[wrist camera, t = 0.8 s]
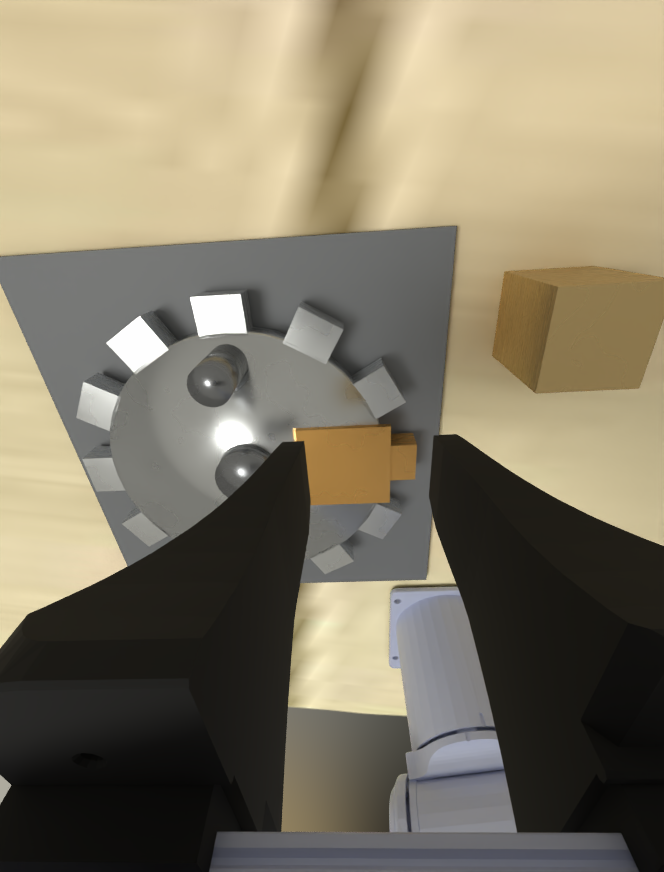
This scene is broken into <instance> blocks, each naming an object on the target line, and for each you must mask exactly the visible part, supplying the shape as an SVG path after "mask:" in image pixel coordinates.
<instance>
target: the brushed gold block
mask: <svg viewBox="0 0 664 872" xmlns="http://www.w3.org/2000/svg"><path fill="white" fill-rule="evenodd" d="M663 319H664V278H663V277H657V276H651V275H645V274H639V273H633V272H627V271H621V270H615V269H609V268H603V267H597V266H586V267H569V268H553V269H537V270H521V271H505V272H504V279H503V286H502V293H501V300H500V306H499V313H498V320H497V327H496V333H495V340H494V347H493V354H492V356H493V357H494V358H495V359H497V360H498V361H499V362H500V363H501V364H502V365H503V366H505V367H506V368H507V369H508V370H509V371H510V372H512V373H513V374H514V375H515V376H516V377H517V378H519V379H520V380H521V381H522V382H523V383H524V384H525V385H527V386H528V387H529V388H530V389H531V390H532V391H534V392H535V393H552V392H573V391H594V390H615V389H636V388H639V387H640V384H641V382H642V379H643V376H644V373H645V370H646V367H647V365H648V362H649V359H650V356H651V353H652V350H653V348H654V345H655V342H656V339H657V336H658V333H659V330H660V328H661V325H662V322H663Z"/></svg>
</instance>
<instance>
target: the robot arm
mask: <svg viewBox="0 0 664 872" xmlns="http://www.w3.org/2000/svg"><path fill="white" fill-rule="evenodd" d="M429 499H430V504H431V509H432V514H433V518H434V522H435V526H436V530H437V532H438V535H439V538H440V541H441V544H442V546H443V549H444V552H445V555H446V557H447V560H448V563H449V565H450V568H451V571H452V573H453V576H454V579H455V581H456V584H457V587H421V588H395V589H393V590H392V591H391V592H390V630H389V665H390V667H392V668H401V673H402V681H403V688H404V695H405V703H406V710H407V717H408V725H409V732H410V739H411V747H412V752H407V753H406V760H407V768H408V774H401V775H399V776H398V778H397V780H396V784H395V786H394V788H393V790H392V792H391V796H390V806H389V822H390V832H281V824H282V803H283V783H284V782H283V781H284V761H285V743H286V727H287V711H288V695H289V681H290V666H291V653H292V640H293V628H294V618H295V610H296V603H297V598H298V592H299V587H300V581H301V575H302V570H303V564H304V559H305V553H306V547H307V541H308V536H309V526H310V506H311V498H310V489H309V480H308V471H307V462H306V453H305V444H304V441H292V442H282V443H281V444H280V445H279V446H278V447H277V448H276V449H275V450H274V451H273V452H272V453H271V455H270V456H269V457H268V458H267V459H266V460H265V461H264V462H263V464H262V465H261V466H260V467H259V468H258V469H257V470H256V471H255V472H254V473H253V474H252V475H251V476H250V477H249V478H248V479H247V480H246V482H245V483H243V484H242V485H241V486H240V487H239V488H238V489H237V490H236V491H235V492H234V493H233V494H232V495H231V496H230V497H228V498H227V499H226V500H225V501H224V502H223V503H222V504H221V505H219V506H218V507H217V508H216V509H215V510H213V511H212V512H211V513H210V514H208V515H207V516H206V517H204V518H203V519H202V520H200V521H199V522H198V523H196V524H195V525H194V526H192V527H191V528H189V529H188V530H187V531H185V532H183V533H182V534H180V535H179V536H177V537H176V538H174V539H173V540H171V541H170V542H168V543H166V544H165V545H163V546H162V547H160V548H159V549H157V550H156V551H154V552H152V553H151V554H149V555H147V556H146V557H144V558H142V559H140V560H139V561H137V562H135V563H133V564H132V565H130V566H128V567H126V568H124V569H122V570H120V571H119V572H117V573H115V574H113V575H111V576H109V577H107V578H105V579H103V580H101V581H99V582H97V583H95V584H93V585H91V586H89V587H87V588H85V589H83V590H80V591H78V592H76V593H74V594H72V595H70V596H67V597H65V598H63V599H61V600H59V601H57V602H54V603H52V604H50V605H48V606H46V607H44V608H41V609H39V610H37V611H34V612H32V613H30V614H28V615H27V616H26V617H25V618H24V620H23V621H22V622H21V623H20V625H19V626H18V627H17V628H16V630H15V631H14V632H13V633H12V635H11V636H10V637H9V638H8V640H7V641H6V642H5V643H4V645H3V646H2V647H1V648H0V775H1V776H2V777H4V778H5V779H6V780H7V781H8V782H9V783H10V784H11V787H10V789H9V791H8V792H7V794H6V796H5V797H4V799H3V801H2V803H1V804H0V872H664V546H662V545H659V544H657V543H654V542H651V541H649V540H646V539H644V538H641V537H639V536H636V535H634V534H631V533H629V532H627V531H624V530H622V529H620V528H617V527H615V526H612V525H610V524H608V523H605V522H603V521H601V520H599V519H597V518H594V517H592V516H590V515H588V514H586V513H584V512H582V511H580V510H578V509H576V508H574V507H572V506H570V505H568V504H566V503H564V502H562V501H560V500H558V499H556V498H554V497H553V496H551V495H549V494H547V493H545V492H544V491H542V490H540V489H539V488H537V487H535V486H534V485H532V484H530V483H529V482H527V481H525V480H524V479H522V478H520V477H519V476H517V475H516V474H514V473H513V472H511V471H509V470H508V469H506V468H505V467H503V466H502V465H501V464H499V463H498V462H496V461H495V460H493V459H492V458H490V457H489V456H487V455H486V454H485V453H483V452H482V451H480V450H479V449H478V448H476V447H475V446H473V445H472V444H471V443H469V442H468V441H466V440H465V439H463V438H462V437H460V436H458V435H457V434H454V435H434V436H433V449H432V462H431V474H430V487H429Z"/></svg>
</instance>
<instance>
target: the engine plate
mask: <svg viewBox="0 0 664 872" xmlns="http://www.w3.org/2000/svg"><path fill="white" fill-rule="evenodd" d="M456 228H457V226H446V227H431V228H416V229H402V230H387V231H372V232H357V233H342V234H328V235H313V236H298V237H283V238H269V239H254V240H239V241H224V242H209V243H195V244H180V245H165V246H150V247H135V248H121V249H106V250H91V251H76V252H61V253H47V254H32V255H17V256H2V257H0V284H1V286H2V288H3V290H4V293H5V295H6V297H7V299H8V302H9V304H10V306H11V308H12V310H13V313H14V315H15V317H16V319H17V322H18V324H19V326H20V328H21V330H22V333H23V335H24V337H25V339H26V342H27V344H28V346H29V348H30V350H31V353H32V355H33V357H34V359H35V361H36V364H37V366H38V368H39V370H40V373H41V375H42V377H43V379H44V381H45V384H46V386H47V388H48V390H49V393H50V395H51V397H52V399H53V401H54V404H55V406H56V408H57V410H58V412H59V415H60V417H61V419H62V421H63V424H64V426H65V428H66V430H67V432H68V435H69V437H70V439H71V441H72V444H73V446H74V448H75V450H76V452H77V455H78V457H79V459H80V461H81V464H82V466H83V468H84V470H85V472H86V475H87V477H88V479H89V481H90V483H91V486H92V488H93V490H94V492H95V495H96V497H97V499H98V501H99V503H100V506H101V508H102V510H103V512H104V515H105V517H106V519H107V521H108V523H109V526H110V528H111V530H112V532H113V535H114V537H115V539H116V541H117V543H118V546H119V548H120V550H121V552H122V554H123V557H124V559H125V561H126V563H127V566H130V565H132V564H133V563H135V562H137V561H139V560H140V559H142V558H144V557H146V556H147V555H149V554H151V553H152V552H154V551H156V550H157V549H159V548H160V547H162V546H163V545H165V544H166V543H168V542H170V541H171V540H173V538H171V537H170V536H167V537H165V538H163V539H162V540H160V541H158V542H156V543H155V544H153V545H151V546H148V545H146V544H145V543H144V542H143V541H142V540H140V539H139V538H138V537H137V536H136V535H134V534H133V533H132V532H131V531H130V530H128V529H127V528H126V527H125V526H124V525H122V523H123V522H124V520H125V519H126V517H127V516H128V515H129V513H130V512H131V511H132V509H134V508H136V507H137V506H136V505H135V504H134V503H133V501H132V500H131V498H130V497H129V495H128V494H127V492H126V491H99V492H97V491H96V489H95V487H94V485H93V482H92V480H91V478H90V476H89V474H88V471H87V469H86V467H85V465H84V462H83V460H82V459H83V458H84V457H85V456H86V455H87V454H88V453H89V452H90V451H91V450H92V449H94V448H95V447H101V446H110V431H108V430H105V429H103V428H100V427H98V426H95V425H93V424H90V423H88V422H85V421H83V420H80V419H78V418H76V417H77V412H78V407H79V401H80V396H81V391H82V386H83V382H84V381H85V380H87V379H88V378H90V377H92V376H93V375H95V374H97V373H100V374H103V375H105V376H107V377H110V378H112V379H114V380H117V381H119V382H121V383H124V384H125V383H126V382H127V381H128V380H129V378H130V377H131V376H132V375H133V373H134V372H133V371H132V370H131V369H130V368H129V366H128V365H127V364H126V363H125V362H124V361H123V360H122V359H121V358H120V357H119V356H118V355H117V354H116V353H115V352H114V351H113V350H112V348H111V347H110V346H109V345H108V344H107V342H108V341H110V340H111V339H112V338H113V337H114V336H116V335H117V334H118V333H119V332H121V331H122V330H123V329H124V328H126V327H127V326H128V325H129V324H130V323H132V322H133V321H134V320H135V319H137V318H138V317H139V316H141V315H143V314H145V313H147V312H150V311H153V312H154V313H155V314H156V315H157V317H158V318H159V319H160V320H161V321H162V322H163V324H164V325H165V326H166V327H167V328H168V329H169V331H170V332H171V333H172V334H173V335H174V337H175V338H176V339H177V340H179V339H181V338H183V337H186V336H188V335H190V334H193V333H197V332H198V329H197V325H196V321H195V316H194V312H193V308H192V303H191V299H190V297H192V296H194V295H196V294H198V293H201V292H217V291H233V290H247V294H248V300H249V306H250V313H251V319H252V325H253V327H257V328H264V329H271V330H274V331H278V332H282V333H285V334H287V332H288V330H289V327H290V325H291V323H292V321H293V318H294V316H295V314H296V311H297V309H298V307H299V305H300V303H301V302H303V303H305V304H307V305H309V306H311V307H313V308H315V309H317V310H319V311H321V312H323V313H325V314H327V315H329V316H331V317H332V318H334V319H336V320H338V321H340V322H342V323H343V329H344V330H343V332H342V334H341V336H340V338H339V340H338V342H337V343H336V345H335V347H334V349H333V351H332V353H331V355H330V356H331V357H332V358H333V359H335V360H336V361H337V362H339V363H340V364H341V365H342V366H343V367H344V368H345V369H346V370H347V371H348V372H349V373H350V374H351V375H353V374H355V373H357V372H358V371H360V370H362V369H363V368H365V367H367V366H368V365H370V364H371V363H373V362H375V361H376V360H378V359H380V358H382V360H383V362H384V363H385V365H386V367H387V368H388V370H389V372H390V373H391V375H392V376H393V378H394V380H395V381H396V383H397V385H398V386H399V388H400V389H401V391H402V393H403V396H404V399H405V401H406V403H404V404H402V405H400V406H399V407H397V408H395V409H393V410H392V411H390V412H388V413H386V414H384V415H383V416H381V417H379V418H378V420H379V423H380V424H390V425H391V434H399V433H413V435H414V438H415V440H416V443H417V455H416V473H415V479H414V480H390V497H392V498H395V499H397V500H399V503H400V508H401V513H402V515H401V516H400V517H399V519H398V520H397V521H396V523H395V524H394V525H393V527H392V528H391V529H390V530H389V532H388V533H387V534H386V536H385V537H384V538H383V539H381V538H378V537H375V536H373V535H370V534H368V533H365V532H363V531H360V530H357V531H356V532H355V533H354V534H353V535H352V536H351V537H349V538H348V540H349V542H350V543H351V544H352V545H353V550H354V562H351V563H349V564H347V565H345V566H342V567H340V568H338V569H336V570H334V571H331V572H329V573H327V574H324V573H323V572H322V571H321V570H320V568H319V567H318V566H317V565H316V564H315V563H314V562H313V561H312V560H311V559H306V560H304V564H303V570H302V575H301V581H300V583H318V582H356V581H394V580H426V577H427V565H428V554H429V542H430V530H431V519H432V509H431V504H430V499H429V487H430V474H431V462H432V449H433V436H434V435H439V426H440V414H441V402H442V391H443V379H444V368H445V356H446V344H447V333H448V321H449V309H450V298H451V286H452V275H453V263H454V251H455V240H456Z"/></svg>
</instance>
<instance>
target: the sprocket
mask: <svg viewBox="0 0 664 872" xmlns="http://www.w3.org/2000/svg"><path fill="white" fill-rule="evenodd" d="M190 299H191V303H192V308H193V312H194V316H195V321H196V325H197V329H198V332H197V333H193V334H190V335H188V336H186V337H183V338H181V339H179V340H177V339H176V338H175V337H174V335H173V334H172V333H171V332H170V331H169V329H168V328H167V327H166V326H165V325H164V324H163V322H162V321H161V320H160V319H159V318H158V317H157V315H156V314H155V313H154V312H153V311H150V312H147V313H145V314H143V315H141V316H139V317H138V318H137V319H135V320H134V321H133V322H132V323H130V324H129V325H128V326H127V327H126V328H124V329H123V330H122V331H121V332H119V333H118V334H117V335H116V336H114V337H113V338H112V339H111V340H110V341H108V342H107V344H108V345H109V346H110V347H111V348H112V350H113V351H114V352H115V353H116V354H117V355H118V356H119V357H120V358H121V359H122V360H123V361H124V362H125V363H126V364H127V365H128V366H129V368H130V369H131V370H132V371H133V372H134V373H133V375H132V376H131V377H130V378H129V380H128V381H127V382H126V383H125V384H124V383H121V382H119V381H117V380H114V379H112V378H110V377H107V376H105V375H103V374H100V373H97V374H95V375H93V376H92V377H90V378H88V379H87V380H85V381H84V382H83V386H82V391H81V396H80V401H79V407H78V412H77V417H76V418H78V419H80V420H83V421H85V422H88V423H90V424H93V425H95V426H98V427H100V428H103V429H105V430H108V431H110V446H101V447H95V448H94V449H92V450H91V451H90V452H89V453H88V454H87V455H86V456H85V457H84V458H83V459H82V460H83V462H84V465H85V467H86V469H87V471H88V474H89V476H90V478H91V480H92V482H93V485H94V487H95V489H96V491H97V492H99V491H126V492H127V494H128V495H129V497H130V498H131V500H132V501H133V503H134V504H135V505H136V506H137V507H136V508H134V509H132V511H131V512H130V513H129V515H128V516H127V517H126V519H125V520H124V522H123V523H122V525H124V526H125V527H126V528H127V529H128V530H130V531H131V532H132V533H133V534H134V535H136V536H137V537H138V538H139V539H140V540H142V541H143V542H144V543H145V544H146V545H148V546H151V545H153V544H155V543H156V542H158V541H160V540H162V539H163V538H165V537H167V536H170V537H171V538H173V539H174V538H176V537H177V536H179V535H180V534H182V533H183V532H185V531H187V530H188V529H189V528H191V527H192V526H194V525H195V524H196V523H198V522H199V521H200V520H202V519H203V518H204V517H206V516H207V515H208V514H210V513H211V512H212V511H213V510H215V509H216V508H217V507H218V506H219V505H221V504H222V503H223V502H224V501H225V500H226V499H227V498H228V497H230V496H231V495H232V494H233V493H234V492H235V491H236V490H237V489H238V488H239V487H240V486H241V485H242V484H243V483H245V482H246V480H247V479H248V478H249V477H250V476H251V475H252V474H253V473H254V472H255V471H256V470H257V469H258V468H259V467H260V466H261V465H262V464H263V462H264V461H265V460H266V459H267V458H268V457H269V456H270V455H271V453H272V452H273V451H274V450H275V449H276V448H277V447H278V446H279V445H280V444H281V443H282V442H292V441H304V444H305V453H306V462H307V471H308V480H309V489H310V498H311V506H310V526H309V536H308V541H307V547H306V553H305V559H304V560H306V559H311V560H312V561H313V562H314V563H315V564H316V565H317V566H318V567H319V568H320V570H321V571H322V572H323V573H324V574H327V573H329V572H331V571H334V570H336V569H338V568H340V567H342V566H345V565H347V564H349V563H351V562H354V550H353V545H352V544H351V543H350V542H349V540H348V538H349V537H351V536H352V535H353V534H354V533H355V532H356V531H357V530H360V531H363V532H365V533H368V534H370V535H373V536H375V537H378V538H381V539H383V538H384V537H385V536H386V534H387V533H388V532H389V530H390V529H391V528H392V527H393V525H394V524H395V523H396V521H397V520H398V519H399V517H400V516H401V515H402V513H401V508H400V503H399V500H397V499H395V498H392V497H390V480H414V479H415V473H416V455H417V443H416V440H415V438H414V435H413V433H399V434H391V425H390V424H380V423H379V420H378V418H379V417H381V416H383V415H384V414H386V413H388V412H390V411H392V410H393V409H395V408H397V407H399V406H400V405H402V404H404V403H406V401H405V399H404V396H403V393H402V391H401V389H400V388H399V386H398V385H397V383H396V381H395V380H394V378H393V376H392V375H391V373H390V372H389V370H388V368H387V367H386V365H385V363H384V362H383V360H382V358H380V359H378V360H376V361H375V362H373V363H371V364H370V365H368V366H367V367H365V368H363V369H362V370H360V371H358V372H357V373H355V374H353V375H351V374H350V373H349V372H348V371H347V370H346V369H345V368H344V367H343V366H342V365H341V364H340V363H339V362H337V361H336V360H335V359H333V358H332V357H331V356H330V355H331V353H332V351H333V349H334V347H335V345H336V343H337V342H338V340H339V338H340V336H341V334H342V332H343V330H344V329H343V323H342V322H340V321H338V320H336V319H334V318H332V317H331V316H329V315H327V314H325V313H323V312H321V311H319V310H317V309H315V308H313V307H311V306H309V305H307V304H305V303H303V302H301V303H300V305H299V307H298V309H297V311H296V314H295V316H294V318H293V321H292V323H291V325H290V327H289V330H288V332H287V334H285V333H282V332H278V331H274V330H271V329H264V328H257V327H253V325H252V319H251V313H250V306H249V300H248V294H247V290H233V291H217V292H201V293H198V294H196V295H194V296H192V297H190Z"/></svg>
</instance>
